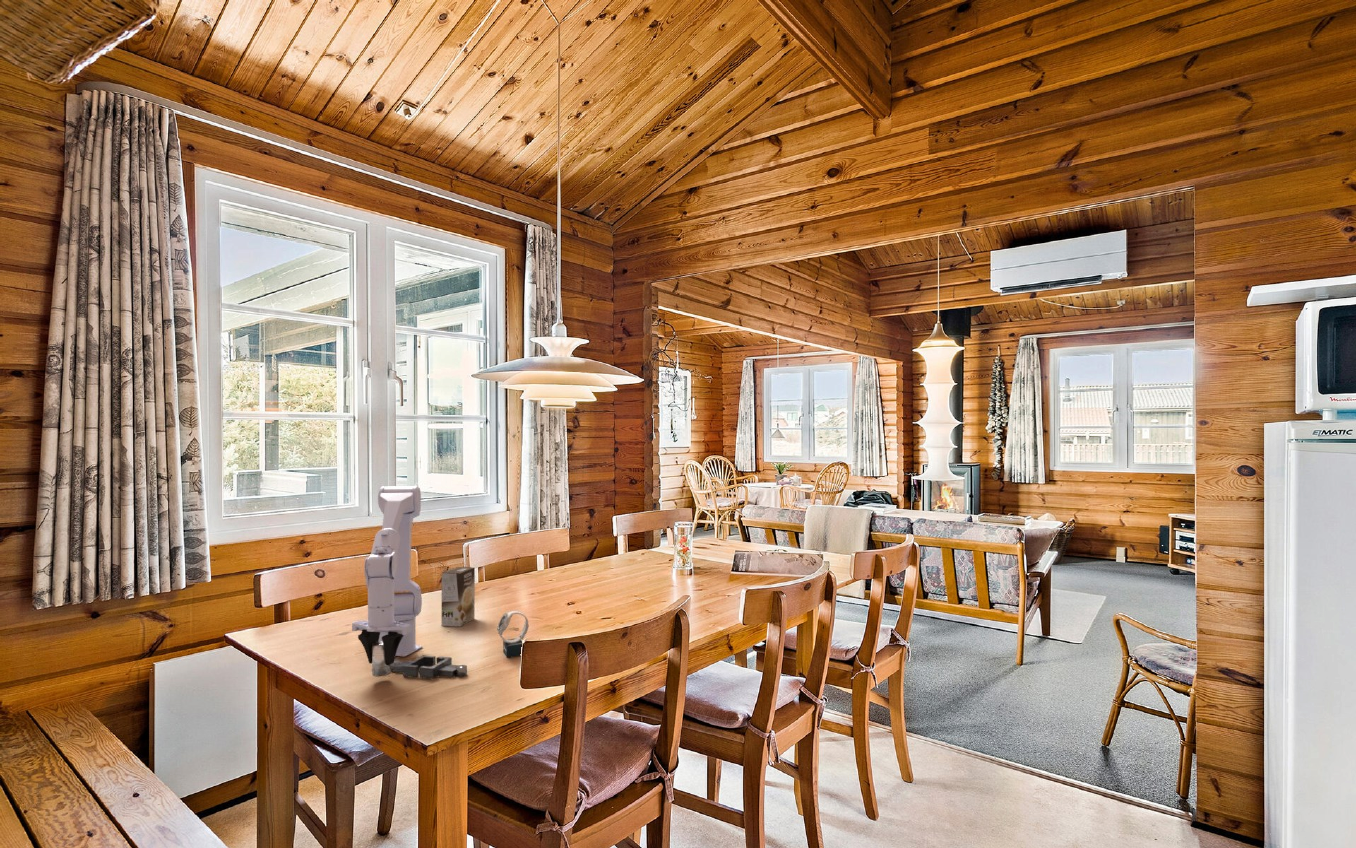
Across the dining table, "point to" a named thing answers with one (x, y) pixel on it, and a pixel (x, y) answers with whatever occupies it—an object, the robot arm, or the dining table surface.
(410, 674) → the chain end left
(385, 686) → the dining table surface
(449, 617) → the coffee box
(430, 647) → the dining table surface
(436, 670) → the chain end right
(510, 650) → the watch
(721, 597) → the dining table surface
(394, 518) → the robot arm
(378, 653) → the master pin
